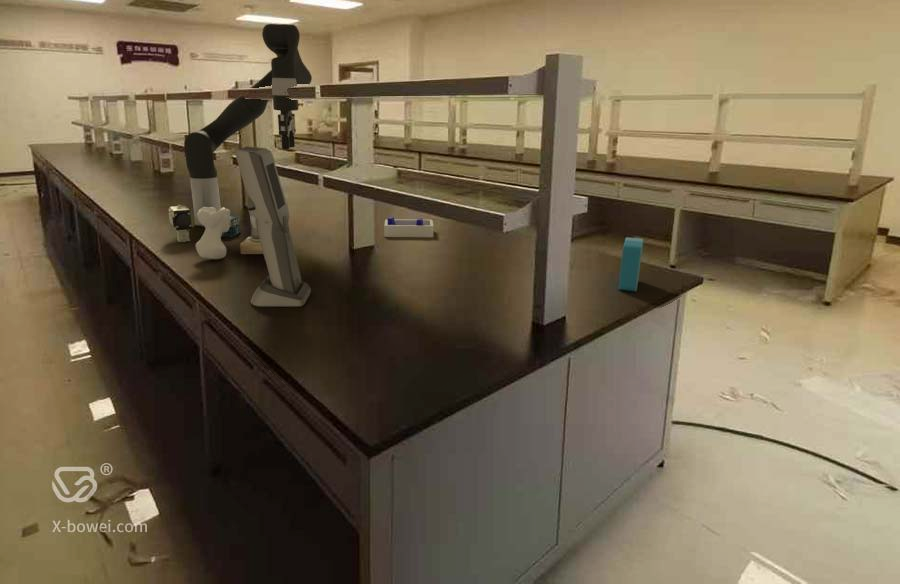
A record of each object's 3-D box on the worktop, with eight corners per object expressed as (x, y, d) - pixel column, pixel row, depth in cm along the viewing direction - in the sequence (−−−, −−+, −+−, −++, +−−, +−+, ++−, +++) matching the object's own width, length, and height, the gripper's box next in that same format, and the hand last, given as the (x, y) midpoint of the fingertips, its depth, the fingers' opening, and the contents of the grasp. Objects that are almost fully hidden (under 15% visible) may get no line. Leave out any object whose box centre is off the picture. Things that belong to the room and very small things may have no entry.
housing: (253, 237, 183) (250, 199, 179) (273, 237, 184) (270, 199, 180) (248, 242, 177) (244, 202, 174) (269, 242, 178) (266, 202, 174)
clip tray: (385, 230, 212) (385, 219, 211) (432, 230, 213) (432, 219, 212) (384, 237, 202) (384, 225, 200) (433, 237, 203) (433, 226, 202)
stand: (249, 245, 186) (248, 236, 185) (281, 246, 186) (280, 236, 185) (240, 253, 176) (239, 243, 175) (274, 253, 177) (273, 243, 176)
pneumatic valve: (188, 236, 196) (184, 201, 192) (194, 244, 186) (190, 207, 182) (170, 238, 193) (165, 202, 189) (175, 246, 183) (170, 208, 180)
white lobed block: (190, 261, 167) (184, 209, 162) (219, 252, 177) (213, 203, 172) (217, 265, 164) (211, 212, 159) (244, 256, 174) (239, 206, 169)
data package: (621, 278, 160) (626, 236, 157) (638, 280, 159) (643, 237, 155) (617, 291, 150) (623, 245, 146) (636, 293, 148) (642, 247, 144)
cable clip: (423, 234, 208) (423, 217, 206) (421, 237, 203) (421, 220, 202) (390, 232, 209) (390, 216, 207) (387, 235, 205) (387, 218, 203)
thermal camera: (259, 291, 143) (246, 145, 132) (312, 291, 144) (303, 146, 133) (246, 307, 132) (231, 150, 121) (303, 307, 133) (293, 151, 122)
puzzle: (241, 233, 203) (239, 216, 201) (233, 237, 197) (231, 219, 195) (224, 232, 203) (222, 215, 201) (216, 236, 198) (214, 219, 196)
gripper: (293, 94, 172) (296, 150, 177) (301, 94, 186) (304, 146, 191) (267, 93, 172) (271, 150, 177) (277, 94, 185) (281, 146, 190)
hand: (288, 148), depth 184 cm, fingers open, 8 cm apart
